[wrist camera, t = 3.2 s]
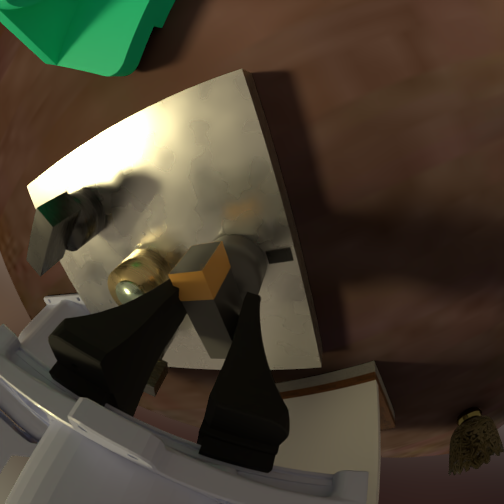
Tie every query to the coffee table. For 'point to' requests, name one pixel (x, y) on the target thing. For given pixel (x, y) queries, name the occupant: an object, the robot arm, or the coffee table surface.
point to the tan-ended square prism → (218, 287)
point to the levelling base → (179, 215)
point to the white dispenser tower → (337, 423)
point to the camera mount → (86, 31)
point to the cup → (473, 441)
